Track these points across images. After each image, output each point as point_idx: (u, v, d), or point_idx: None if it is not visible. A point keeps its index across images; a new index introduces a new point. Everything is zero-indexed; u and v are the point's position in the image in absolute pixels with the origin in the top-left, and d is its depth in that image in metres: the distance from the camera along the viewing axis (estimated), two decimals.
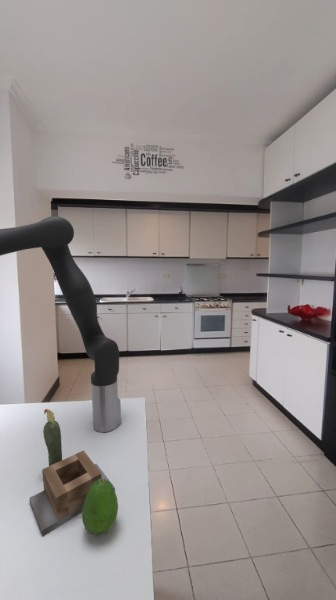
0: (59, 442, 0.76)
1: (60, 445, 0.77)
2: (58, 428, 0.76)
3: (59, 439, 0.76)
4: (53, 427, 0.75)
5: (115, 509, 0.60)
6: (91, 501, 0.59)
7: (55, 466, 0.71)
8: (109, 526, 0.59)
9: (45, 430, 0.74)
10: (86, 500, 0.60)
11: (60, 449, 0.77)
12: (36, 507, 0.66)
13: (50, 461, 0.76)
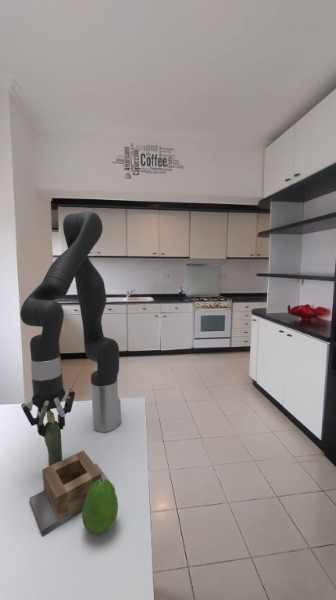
0: (59, 442, 0.76)
1: (60, 445, 0.77)
2: (58, 428, 0.76)
3: (59, 439, 0.76)
4: (53, 427, 0.75)
5: (115, 509, 0.60)
6: (91, 501, 0.59)
7: (55, 466, 0.71)
8: (109, 526, 0.59)
9: (45, 430, 0.74)
10: (86, 500, 0.60)
11: (60, 449, 0.77)
12: (36, 507, 0.66)
13: (50, 461, 0.76)
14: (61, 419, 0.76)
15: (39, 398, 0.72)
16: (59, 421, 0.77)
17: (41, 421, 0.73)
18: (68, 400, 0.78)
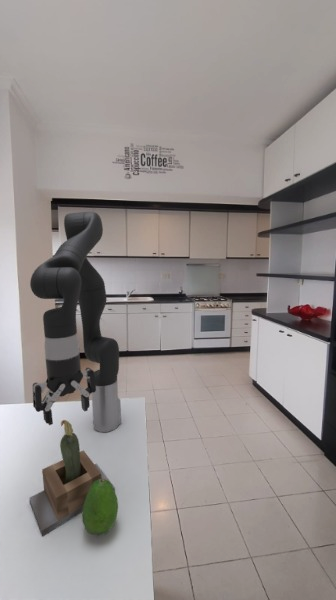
0: (78, 457, 0.68)
1: (79, 460, 0.69)
2: (77, 441, 0.68)
3: (78, 454, 0.68)
4: (71, 440, 0.67)
5: (115, 509, 0.60)
6: (91, 501, 0.59)
7: (55, 466, 0.71)
8: (109, 526, 0.59)
9: (62, 444, 0.66)
10: (86, 500, 0.60)
11: (79, 464, 0.69)
12: (36, 507, 0.66)
13: (68, 478, 0.68)
14: (85, 399, 0.68)
15: (55, 381, 0.63)
16: (83, 402, 0.69)
17: (48, 407, 0.62)
18: (89, 380, 0.69)
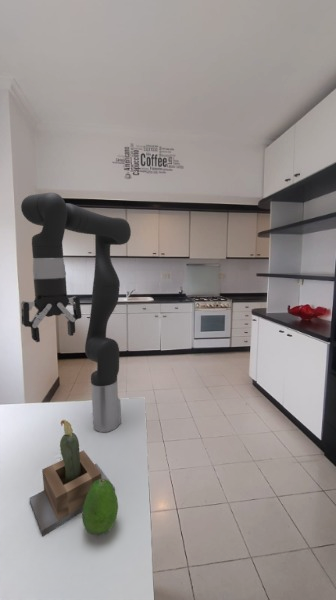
0: (77, 457, 0.68)
1: (78, 460, 0.69)
2: (76, 441, 0.68)
3: (77, 453, 0.68)
4: (71, 440, 0.67)
5: (115, 509, 0.60)
6: (91, 501, 0.59)
7: (55, 466, 0.71)
8: (109, 526, 0.59)
9: (62, 444, 0.66)
10: (86, 500, 0.60)
11: (78, 464, 0.69)
12: (36, 507, 0.66)
13: (68, 478, 0.68)
14: (71, 324, 0.73)
15: (42, 301, 0.68)
16: (69, 327, 0.74)
17: (35, 324, 0.67)
18: (75, 306, 0.74)
